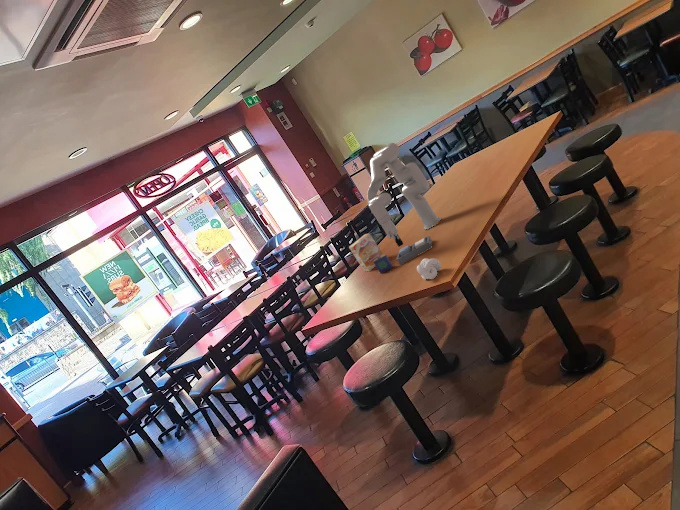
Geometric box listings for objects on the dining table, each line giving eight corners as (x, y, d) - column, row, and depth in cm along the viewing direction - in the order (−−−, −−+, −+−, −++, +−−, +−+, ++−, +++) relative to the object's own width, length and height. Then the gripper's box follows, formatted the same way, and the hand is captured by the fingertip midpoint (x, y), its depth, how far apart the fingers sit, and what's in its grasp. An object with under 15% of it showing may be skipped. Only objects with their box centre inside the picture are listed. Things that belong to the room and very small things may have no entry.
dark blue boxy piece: (394, 265, 305) (384, 251, 303) (393, 267, 303) (383, 253, 301) (381, 272, 309) (371, 258, 307) (380, 274, 306) (370, 260, 304)
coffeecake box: (369, 271, 326) (352, 246, 322) (364, 271, 333) (347, 247, 329) (386, 257, 331) (369, 232, 327) (380, 258, 338) (364, 233, 334)
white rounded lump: (439, 279, 243) (429, 264, 241) (419, 287, 250) (409, 272, 248) (446, 267, 251) (436, 252, 250) (426, 275, 259) (416, 260, 257)
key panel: (401, 257, 310) (398, 252, 309) (432, 241, 303) (428, 235, 302) (400, 265, 299) (396, 259, 298) (431, 248, 292) (428, 242, 291)
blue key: (402, 253, 306) (399, 249, 305) (411, 248, 304) (408, 244, 303) (401, 257, 300) (398, 253, 300) (410, 252, 298) (407, 248, 297)
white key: (417, 247, 302) (415, 242, 302) (426, 242, 300) (424, 237, 300) (417, 250, 297) (414, 246, 296) (426, 245, 295) (423, 241, 294)
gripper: (380, 218, 305) (396, 244, 309) (377, 226, 292) (394, 252, 295) (391, 212, 303) (407, 238, 306) (388, 219, 289) (405, 246, 292)
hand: (401, 245), depth 301 cm, fingers closed
